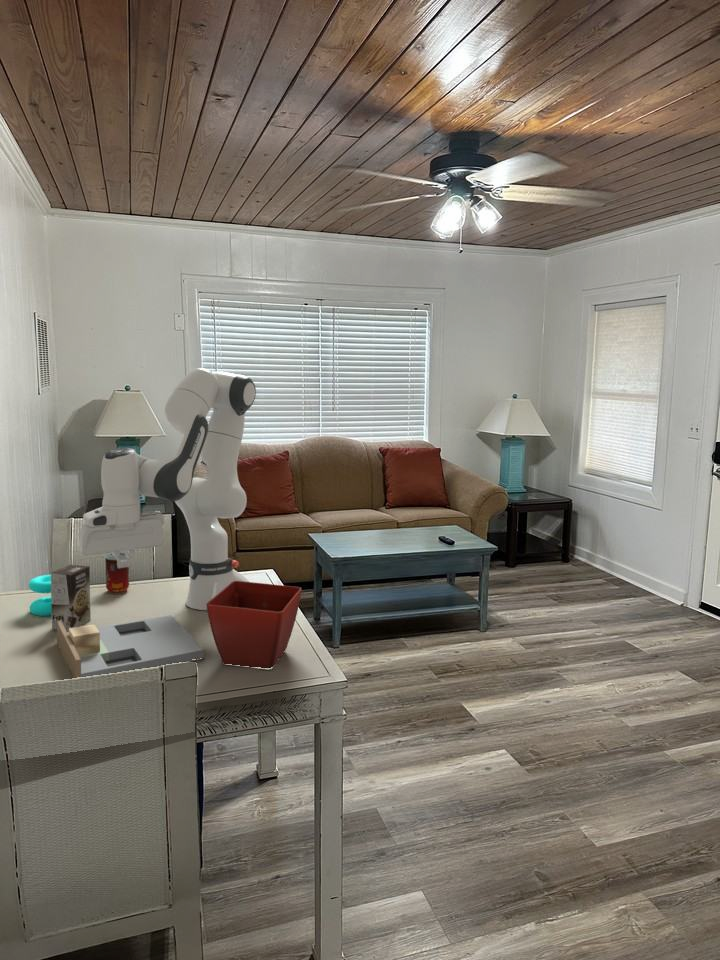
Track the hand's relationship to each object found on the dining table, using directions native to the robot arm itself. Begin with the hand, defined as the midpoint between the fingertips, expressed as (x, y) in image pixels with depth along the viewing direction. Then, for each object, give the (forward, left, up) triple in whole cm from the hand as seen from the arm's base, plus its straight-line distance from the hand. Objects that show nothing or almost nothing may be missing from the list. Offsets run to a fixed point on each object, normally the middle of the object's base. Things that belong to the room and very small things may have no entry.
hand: (123, 567), depth 168 cm
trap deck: (-1, +1, -22) cm, 22 cm away
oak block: (+10, +1, -20) cm, 22 cm away
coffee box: (+9, -24, -22) cm, 34 cm away
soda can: (-9, -47, -22) cm, 53 cm away
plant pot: (-27, +20, -22) cm, 41 cm away
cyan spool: (+13, -38, -22) cm, 46 cm away
